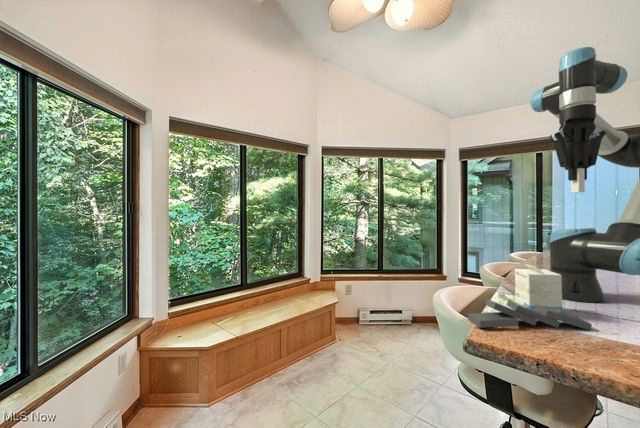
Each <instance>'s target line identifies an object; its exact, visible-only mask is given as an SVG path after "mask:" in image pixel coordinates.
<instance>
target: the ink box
mask: <svg viewBox="0 0 640 428" xmlns="http://www.w3.org/2000/svg"><path fill="white" fill-rule="evenodd" d="M524 266H526V268H514V287H515V288H514V292H515V294H514V297H515V298H514V300H515V301H514V302H516V303H519V304H521V305H524V306H526V307H529V308H531V309H534V308H535V305H536V304H537V305H540V306H543V307H547V308H550V309H553V310H556V311H560V312H563V299H562V281H561V275H560V274H557V273H554V272H551V271H550V270H548V269H546V268H545V269H544V268H543V269H542V268H538V267H537V266H534V265H531V264H527V263H524ZM563 313H564V312H563Z"/></svg>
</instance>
